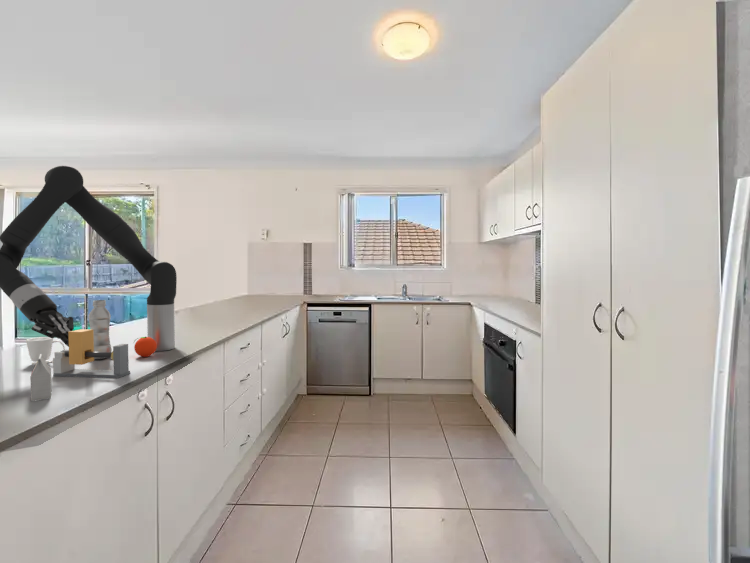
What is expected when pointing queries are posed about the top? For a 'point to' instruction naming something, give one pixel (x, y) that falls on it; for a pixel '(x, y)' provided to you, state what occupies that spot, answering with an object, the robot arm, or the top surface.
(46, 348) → the cup
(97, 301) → the plastic bottle
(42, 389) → the milk carton
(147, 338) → the clementine
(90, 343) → the sleeve
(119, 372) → the gray horizontal rod stand
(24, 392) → the top surface
